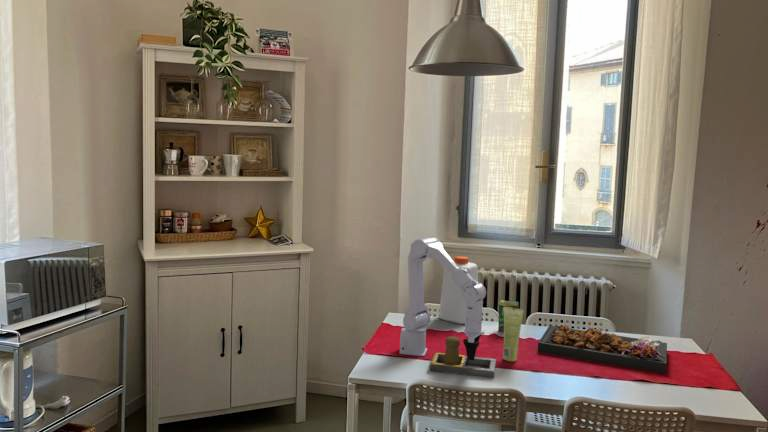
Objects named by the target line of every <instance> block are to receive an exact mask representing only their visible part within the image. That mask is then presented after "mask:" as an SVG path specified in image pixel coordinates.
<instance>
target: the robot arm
mask: <svg viewBox="0 0 768 432" xmlns="http://www.w3.org/2000/svg"><path fill="white" fill-rule="evenodd" d="M427 259H435V260H436V261H438V262H439V264H441V265H442V266H443V268H446V269H447V270H448V271H449V272H450V273H451V279H452V280H453V281H454V282H455V283H456V285H457V286H458V287H459V288H460V289H461V290H462V291H463V292H464V293H463V296H464V299H465V301H466V316H465V324H464V330H463V332H464V334H465V335H466V337H467V338H463V341H462V343H463V345H464V347H465V352H466V356H467V359H468V360H474V358H475V357H476V353H477V349H478V347H479V345H480V343H481V341H480V339H481V337H482V335H485V330H482V328H483V327H482V322H483V306H484V305H483V304H484V299H485V298H486V296H487V288H486V286H485V285H484V284H483V283H481V282H478V283H477V281H476V280H474V279H473V278H472V277H471V276H470V275H469V274H468V271H467V270H466V269H464V268H459V267H458V266H457V265H456V264H455V262H454V261H455V260H453V259H452V257H451V256H450V255H449V254H448V253H447V251H446V250H445V249H444V245H443V243H442V242H440V240H439V239H438V238H437V237H435V236H429V237H425V238H418V239H415V240H414V241H413V242H411V243H410V250H409V253H408V256H407V269H408V272H407V273H408V274H407V275H408V305H407V307H406V308H405V310H404V316H403V319H402V323H403V327H401V330H400V337H399V354H400V355H406V356H407V355H408V356H417V357H425V356H426V354H427V352H428V348H427V347H426V341H427V340H426V339H427V338H426V337H427V327H428V325H429V324H431V316H430V313H429V307H428V306H427V305H426V304H425V293H424V290H425V289H424V288H425V287H424V285H425V284H424V262H425V261H426V260H427Z"/></svg>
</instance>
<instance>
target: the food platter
mask: <svg viewBox="0 0 768 432" xmlns="http://www.w3.org/2000/svg"><path fill="white" fill-rule="evenodd" d="M537 353H542V354H549V355H554V356H557V357H558V356H559V357H565V358H571V359H576V360H577V359H579V360H583V361H588V362H593V361H594V362H595V363H599V362H600V363H601V364H605V363H606V365H612V366H618V367H623V368H630V369H635V370H641V371H647V372H651V373H652V372H653V373H658V374H659V373H660V374H667V361H668V360H667V359H668V358H667V357H668V356H667V353H668V343H667V342H663V341H661V340H654V339H652V338H651V337H649V336H647V335H642V336H640V338H635V337H631V336H625V335H623V336H622V335H617V334H615V333H613V332H611V333H610V332H609V333H607V332H602V330H600V329H599V328H595V329H594V328H591V327H590V328H589V329H587V330H585V329H580V328H579V329H577V328H571V327H569V325H567V324H564V325H561V326H559V325H558V324H557V325H552V324H549V325H548V327H547V328H546V330H545V332H544V333H543V335H542V336H541V338H540V339H539V341H538V342H537ZM600 363H599V364H600Z"/></svg>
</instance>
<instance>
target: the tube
mask: <svg viewBox="0 0 768 432" xmlns="http://www.w3.org/2000/svg"><path fill="white" fill-rule="evenodd" d="M503 311H504V332H503V352H502V359H503V360H505V361H507V362H517V358H518V350H519V341H520V334H521V326H522V322H523V317H524V313H525V312H524V311H525V310H524V309H521V308H518V309H514V308H508V307H503Z"/></svg>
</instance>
